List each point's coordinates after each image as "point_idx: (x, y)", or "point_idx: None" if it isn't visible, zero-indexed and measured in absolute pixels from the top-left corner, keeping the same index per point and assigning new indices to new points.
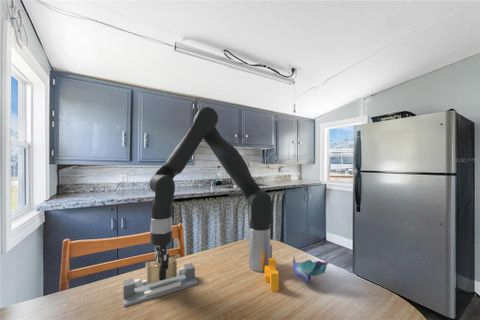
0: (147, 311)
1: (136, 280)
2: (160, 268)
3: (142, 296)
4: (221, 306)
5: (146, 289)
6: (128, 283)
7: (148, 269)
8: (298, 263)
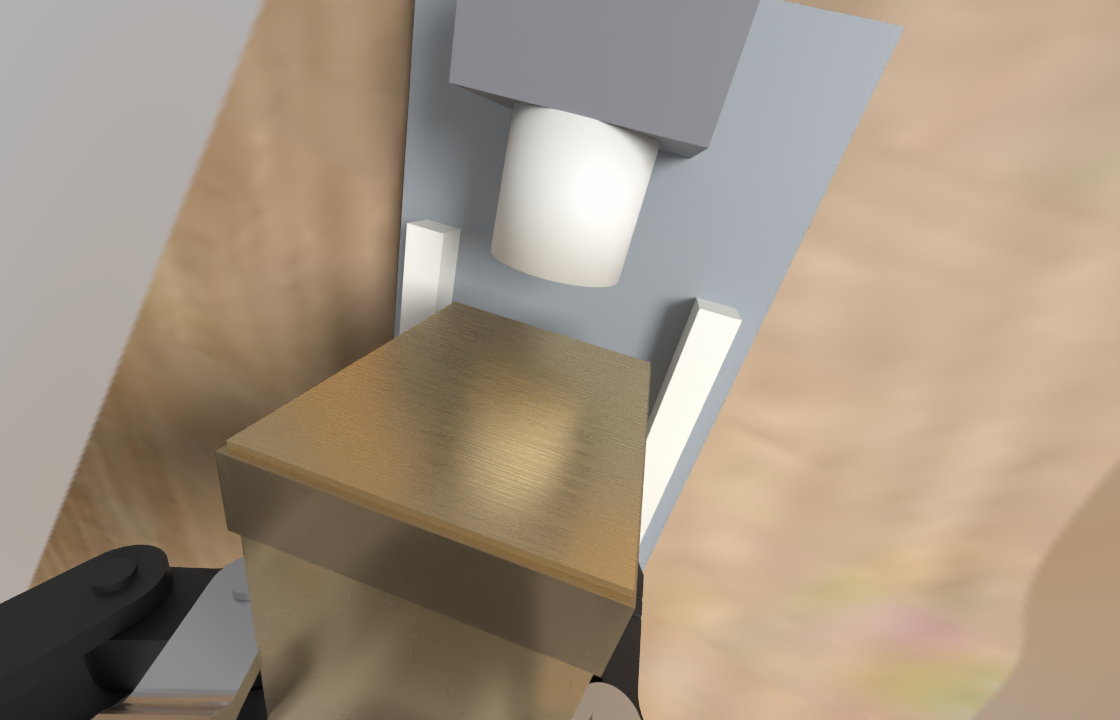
0: (257, 163)
1: (539, 169)
2: (82, 591)
3: (443, 198)
4: (134, 521)
5: (548, 292)
6: None
7: (256, 442)
8: None
